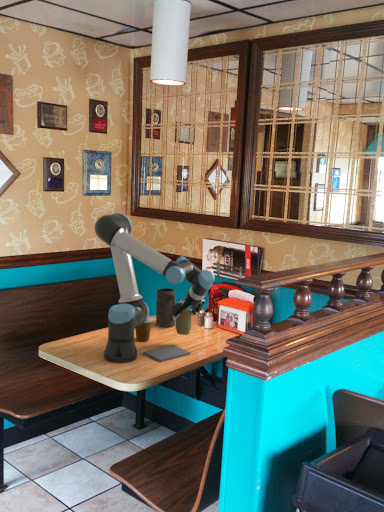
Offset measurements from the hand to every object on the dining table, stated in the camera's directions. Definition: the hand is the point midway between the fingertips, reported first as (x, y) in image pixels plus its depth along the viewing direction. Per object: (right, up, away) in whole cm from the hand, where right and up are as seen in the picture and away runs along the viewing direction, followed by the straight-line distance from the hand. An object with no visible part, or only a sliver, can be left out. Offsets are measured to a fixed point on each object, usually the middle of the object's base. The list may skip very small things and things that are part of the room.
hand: (180, 318), depth 264 cm
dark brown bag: (-8, -8, +30) cm, 32 cm away
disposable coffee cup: (-19, -11, +3) cm, 23 cm away
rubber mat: (-6, -15, -15) cm, 22 cm away
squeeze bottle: (+1, -7, -2) cm, 8 cm away
